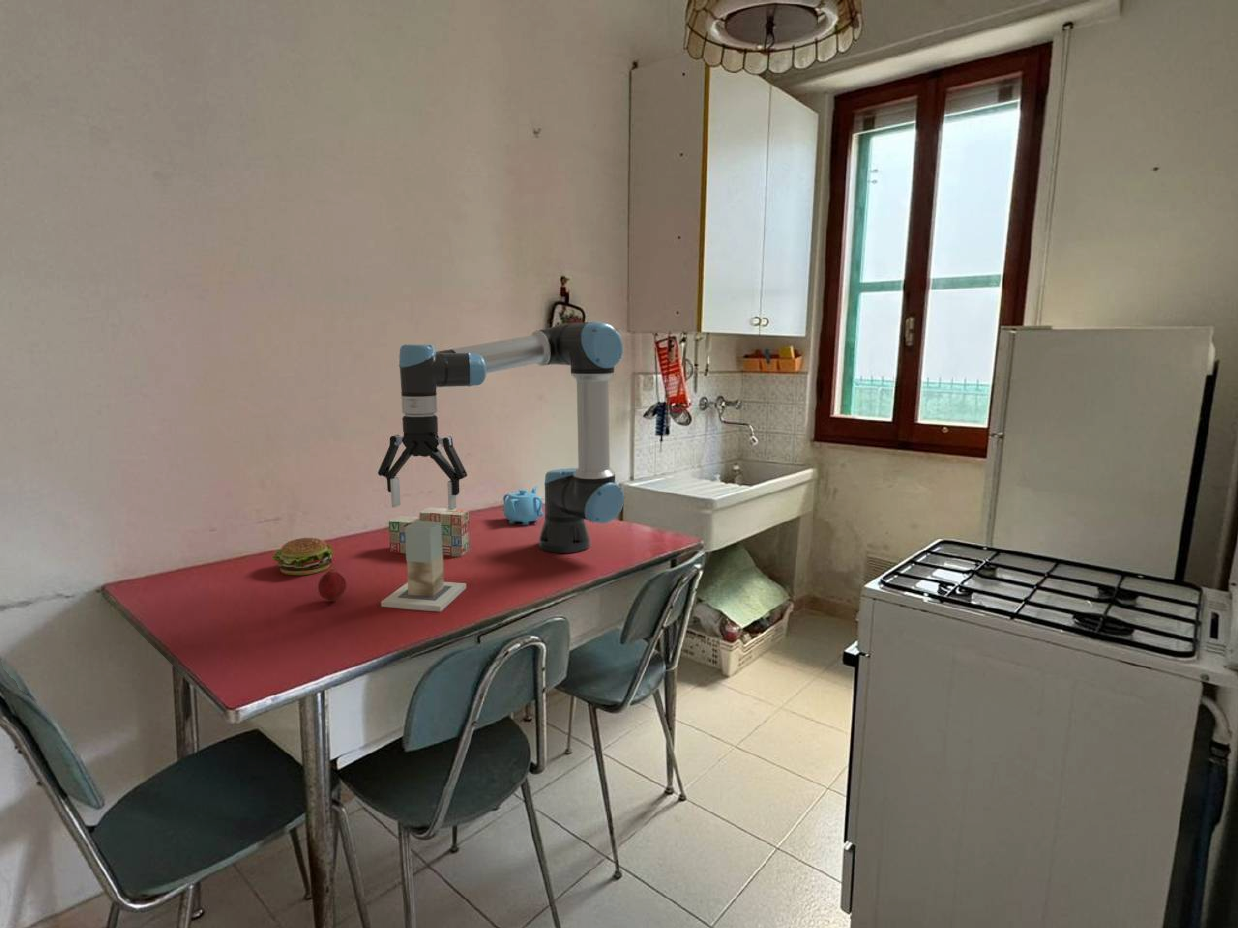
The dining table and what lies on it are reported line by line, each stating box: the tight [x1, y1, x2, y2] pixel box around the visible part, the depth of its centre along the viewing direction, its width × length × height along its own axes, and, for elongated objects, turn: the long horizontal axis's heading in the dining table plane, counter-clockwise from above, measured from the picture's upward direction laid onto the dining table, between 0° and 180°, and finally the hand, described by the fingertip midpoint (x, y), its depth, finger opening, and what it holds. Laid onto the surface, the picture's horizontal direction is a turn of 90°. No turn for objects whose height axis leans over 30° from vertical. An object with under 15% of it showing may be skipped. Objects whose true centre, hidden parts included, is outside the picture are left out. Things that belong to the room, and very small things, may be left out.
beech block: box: [406, 555, 445, 597], centre depth 156 cm, size 6×6×8 cm
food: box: [271, 537, 334, 576], centre depth 173 cm, size 14×14×8 cm
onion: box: [317, 567, 347, 603], centre depth 152 cm, size 6×6×8 cm
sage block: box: [405, 521, 442, 563], centre depth 154 cm, size 6×6×8 cm
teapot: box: [502, 486, 544, 526], centre depth 225 cm, size 13×14×11 cm
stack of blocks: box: [388, 507, 470, 558], centre depth 190 cm, size 21×6×12 cm, turn 83°
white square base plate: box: [380, 581, 467, 612], centre depth 156 cm, size 14×15×1 cm
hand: (424, 507), depth 153 cm, fingers open, 13 cm apart
